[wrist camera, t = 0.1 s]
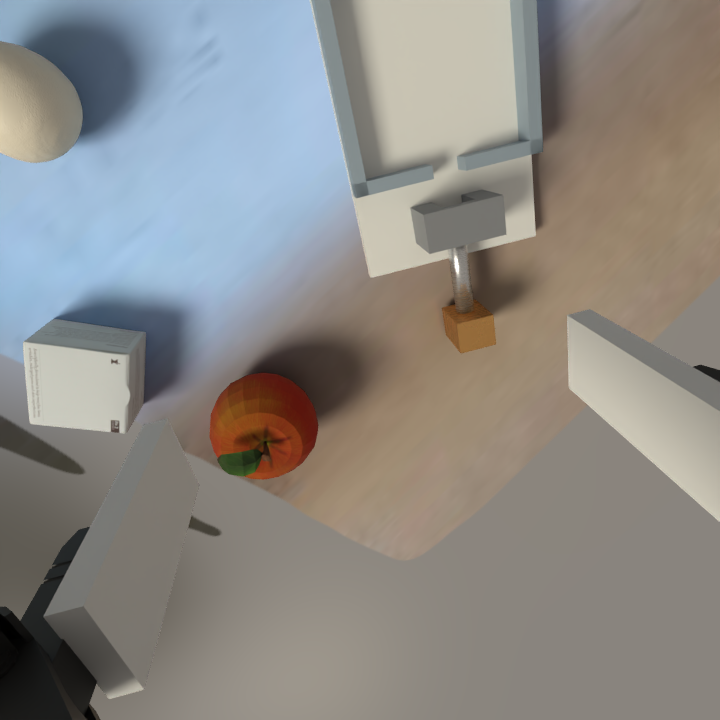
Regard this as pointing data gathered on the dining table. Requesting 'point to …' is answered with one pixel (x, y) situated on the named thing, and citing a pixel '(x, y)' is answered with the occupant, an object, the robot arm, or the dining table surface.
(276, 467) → the fruit
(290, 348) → the dining table surface
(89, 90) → the dining table surface
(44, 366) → the small box
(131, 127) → the dining table surface
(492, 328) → the lock pin
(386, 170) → the dock
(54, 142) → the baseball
